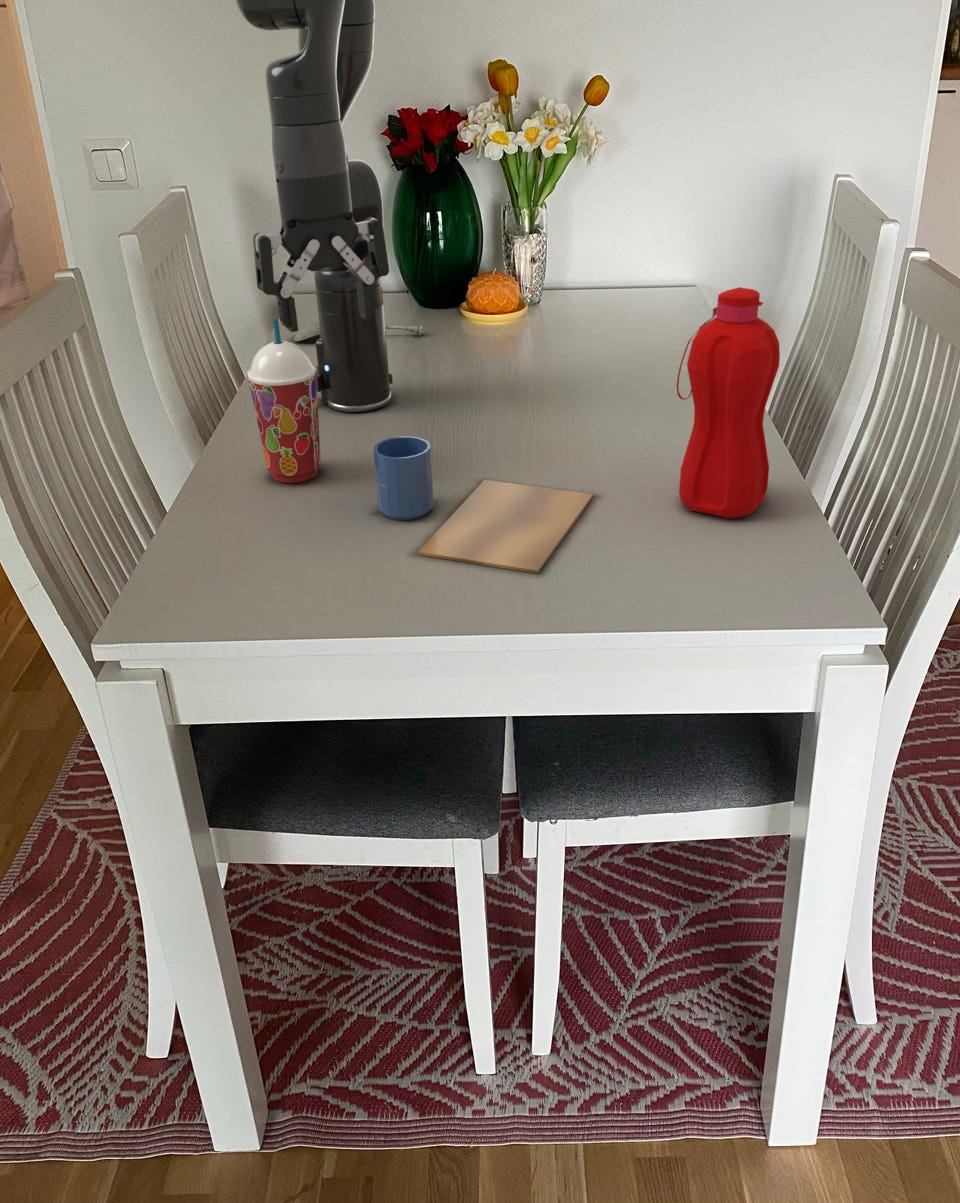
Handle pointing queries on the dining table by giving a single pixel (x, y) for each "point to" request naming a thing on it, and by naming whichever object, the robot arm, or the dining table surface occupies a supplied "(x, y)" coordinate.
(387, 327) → the soupspoon
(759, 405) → the water bottle
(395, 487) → the blue plastic tumbler
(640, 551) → the dining table surface
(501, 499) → the mat
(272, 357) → the smoothie
